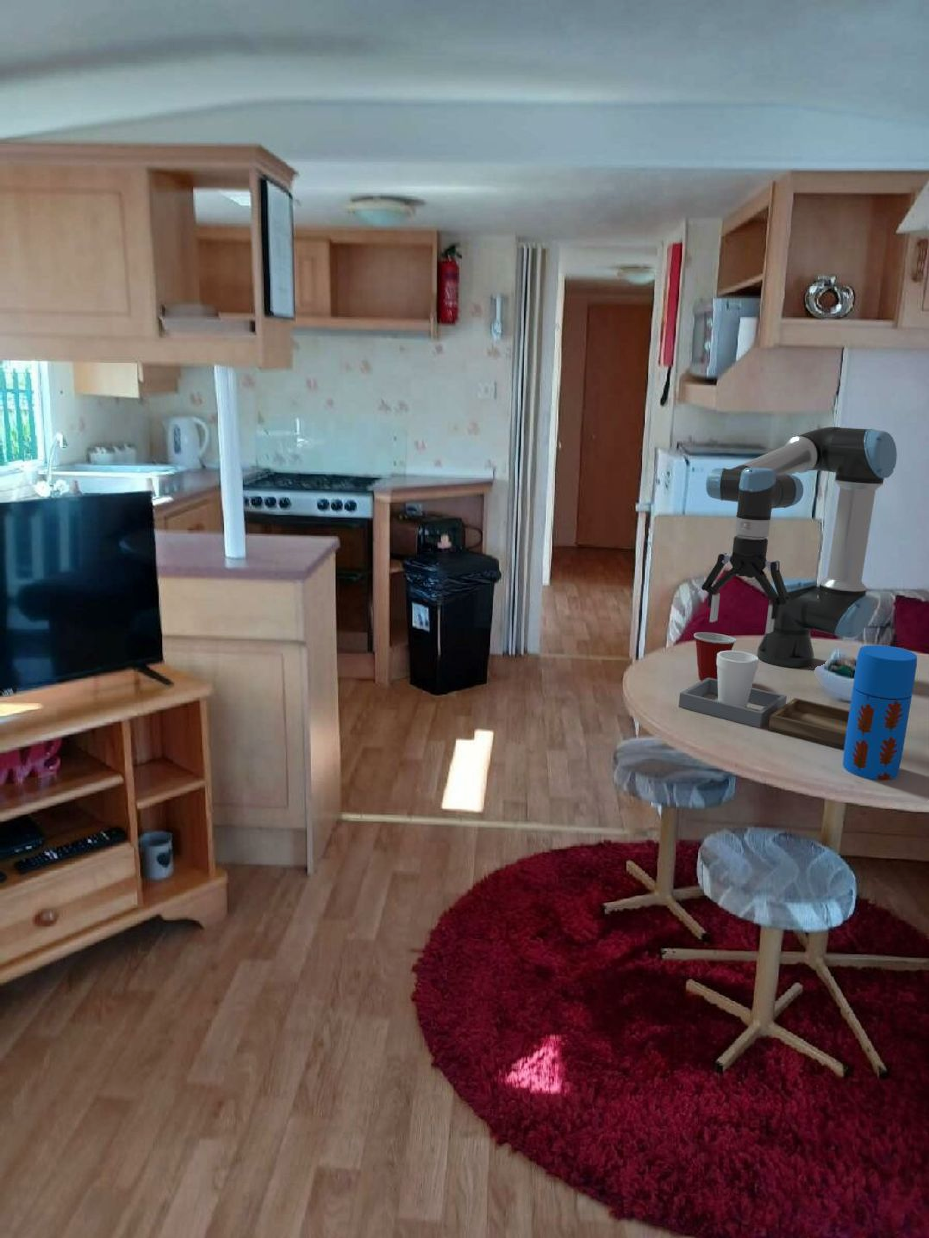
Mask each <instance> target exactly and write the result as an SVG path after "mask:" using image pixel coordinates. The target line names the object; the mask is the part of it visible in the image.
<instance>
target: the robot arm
mask: <svg viewBox="0 0 929 1238" xmlns="http://www.w3.org/2000/svg"><path fill="white" fill-rule="evenodd" d="M897 453H898V452H897V446H896V442H895V440H894V438H893V436H892V435H891V434H890V433H888V432H887V431H886V430H885V431H884V430H878V429H873V428H871V429H869V428H854V427H853V428H852V427H839V426H828V427H823V428H821V427H820V428H818V429H817V428H816V429H813V430H810V431H807V432H804V433H801V434H799V435H797V436H795V437H791V438H790V439H788V441H787V442H786V443H785V445H783V446H781V447H779V448H777V449H774V450H772V451H770V452H768V453H765V454H763V455H760V456H758V457H756V458H753V459H751V460H749V461H747V462H744V463H742V464H739V465H737V466H735V467H732V468H726V467H722V468H721V467H719V468H718V467H716V468H713V469H711V471H710V472H709V473H708V475H707V476H706V480H705V490H706V494H707V495H708V496H709V497H710V498H712V499H716V500H719V501H720V502H721V501H725V502H726V501H727V502H735V503H737V508H736V509H737V511H736V517H735V523H734V524H735V525H734V534H735V536H734V537H733V540H732V541H733V543H732V550H731V551H732V553H731V555H729V554H727V553H726V552H723V553H720V554H719V553H718V556H717V558H716V559H717V560H716V563H715V565H714V566H713V568H712V570H711V571H710V573H709V575H708V576H707V578H706V579H705V581H704V582H703V584H702V585H701V590H703V591H705V592H707V593H708V597H707V598H708V599H707V600H708V601H707V607H708V608H710V614H709V623H714V622H716V621H717V622H718V616H719V609H720V608H719V607H720V599H721V594H720V593H718V592H719V591H720V590H721V588H722V587H724V586H725V585H726V584H727V583H728V582H729V581H730V580H731V579H732V578H733V577H734V576H736V575H737V576H738V577H746V578H748V579H749V578H750V579H753V578H754V579H755V580H756V581H757V582H758V583H759V585H760V587H761V588H762V590H763V592H764V593H765V595H766V596H767V598H768V599H769V604H768V610H767V616H766V617H767V619H766V625H765V633H764V635H763V637H762V638H761V641H760V642H759V645H758V647H757V650H756V651H757V652H756V656H757V657H758V659H759V660H760V661H762V662H764V663H767V664H771V665H775V666H781V667H785V668H786V667H789V668H800V667H801V668H803V667H809V666H811V665H813V664H814V660H815V653H814V649H813V645H812V644H813V643H812V640H811V631H812V630H813V631H817V632H823V633H825V634H826V633H827V634H830V635H833V636H834V635H835V636H836V637H844V638H849V639H850V638H856V637H858V636H859V635H860V634H862V632H864V630H865V629H866V627H867V626H868V623H869V621H870V620H871V617H872V614H873V611H874V603H873V599H872V598H871V597H870V596H869V595H867V586H866V585H865V584H864V583H863V572H864V567H865V560H866V554H867V547H868V542H869V534H870V529H871V522H872V516H873V509H874V503H875V496H876V491H877V490H878V489H879V488H881V487H882V486H883V485H884V480H885V479H888V478H889V477H891V476H892V475H893V473H894V469H896V466H897V465H896V464H897V457H898V454H897ZM811 471H821V472H822V471H823V472H828V473H829V472H830V473H835V477H834V482H835V483H836V484H837V485H838V487H839V493H838V500H837V505H836V507H837V508H836V513H835V521H834V527H833V534H832V542H831V548H830V552H829V553H830V554H829V562H828V569H827V575H826V578H824V579H823V580H822V581H820V582H819V586H818V581H817V580H816V579H813V578H809V577H808V578H807V577H790V578H788V577H787V578H783V576H782V573H781V571H780V568H781V567H780V561H779V560H775V561H774V560H773V561H767V553H768V544H769V539H768V537H769V536H770V529H771V528H770V525H771V517H772V516H771V515H772V511H773V510H772V509H782V508H784V509H786V508H789V507H792V506H794V505H796V504H798V503H799V502H800V501H801V500H802V498H803V495H804V484H803V483H802V481H801V479H800V478H799V477H798V476H797V475H796V476H795V475H794V474H796V473H798V474H804V473H807V472H811ZM728 563H730V564H731V566H732V568H730V570H728V571H727V572H726V574H724V575H723V576H722V577H721V578H720V579H719V580H718V581H716V579H717V578H718V576H719V575H720V573H721V572H722V570H723V568H724V567H725V566H726V565H725V564H728ZM766 567H767V569H768V571H770V575H771V579H772V581H773V583H771V582H770V581H769V579H768V577H767V574H766V573H765V571H764V569H765V568H766ZM715 581H716V583H715V584H714V582H715Z"/></svg>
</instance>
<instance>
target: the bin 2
mask: <svg viewBox="0 0 929 1238" xmlns="http://www.w3.org/2000/svg"><path fill="white" fill-rule="evenodd" d="M849 711H850V709H849V710H848V709H844V708H839V707H835V706H831V705H828V704H827V705H826V704H823V703H818V702H814V701H810V700H806V699H802V698H797V697H794V698H793V699H792V700H790V701H789V702H786V705H784V706H783V707H782V708H780V709H779V710H777V711H776V712H775V713H773V714H772V715H770V721H769V722H768V731H769V732H770V731H771V732H774V733H778V734H782V735H784V736H790V737H793V738H796V739H797V738H798V739H801V740H805V741H809V742H812V743H817V744H821V745H824V746H826V747H827V746H829V747H831V748H835V749H840V750H843V751H844V745H845V738H846V732H847V725H848V718H849Z"/></svg>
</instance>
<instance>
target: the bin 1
mask: <svg viewBox="0 0 929 1238" xmlns="http://www.w3.org/2000/svg"><path fill="white" fill-rule="evenodd" d="M707 694H714V695H717V696H718V680H717V679H713V678H706V679H704V680H703V681H701V680H700V681H698V682H697V683H696V684H693V685H692V686H690V687H688V688H686V689H685V690H683V691H681V692H679V697H678V698H679V701H678V707H679V708H682V709H686V710H688V711H693V712H697V713H700V714H701V713H702V714H705V715H709V716H713V717H716V718H721V719H724V720H728V721H732V722H735V723H739V724H744V725H747V726H751V727H754V728H759V729H761V728H762V727H763V726H764V725H766V724H767V723H769V721H770V715H772V714H773V713H775V712H776V711H777V710H779V709H780V708H782V707H783V706H784V705H786V704H787V698H788V696H787V695H785V694H780V693H776V692H771V691H768V690H763V689H759V688H755V687H752V688H751V692H750V696H749V700H748V703H750V704H755V705H758V706H762V707H763V708H762V709H760V710H755V709H752V708H747V707H746V708H744V707H740V706H736V705H732V704H728V703H724V702H720V701H718V700H715V699H711V698H707V697H704V696H706V695H707Z"/></svg>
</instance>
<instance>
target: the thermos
mask: <svg viewBox="0 0 929 1238" xmlns="http://www.w3.org/2000/svg"><path fill="white" fill-rule="evenodd" d="M917 667H918V656H917V655H916V653H914V652H913V651H910V650H907V649H904V648H900V647H896V646H890V645H882V644H881V645H880V644H878V645H877V644H872V645H871V644H870V645H869V644H868V645H864V646H861V647H860V648H859V650H858V653H857V657H856V663H855V672H854V678H853V684H852V685H853V686H852V691H851V692H852V693H851V698H850V704H849V705H850V707H849V718H848V725H847V732H846V738H845V745H844V750H843V759H842V766H843V768H844V770H846V771H847V772H849V773H851V774H853V775H855V776H858V777H861V778H864V779H869V780H875V781H888V780H893V779H896V778H897V776H898V775H899V772H900V766H901V763H902V758H903V753H904V746H905V739H906V735H907V728H908V722H909V717H910V709H911V705H912V697H913V691H914V685H915V680H916V673H917V672H916V671H917Z"/></svg>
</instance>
